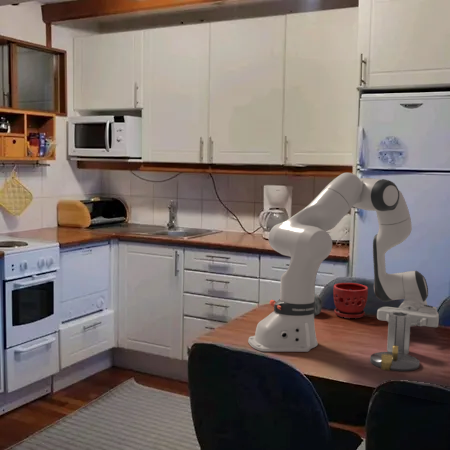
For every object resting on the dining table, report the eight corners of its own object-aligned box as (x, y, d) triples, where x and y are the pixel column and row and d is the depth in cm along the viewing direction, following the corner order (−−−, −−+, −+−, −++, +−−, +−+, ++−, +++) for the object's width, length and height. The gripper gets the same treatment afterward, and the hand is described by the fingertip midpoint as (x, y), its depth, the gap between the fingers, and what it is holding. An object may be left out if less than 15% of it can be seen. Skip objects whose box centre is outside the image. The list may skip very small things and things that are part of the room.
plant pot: (325, 313, 234) (326, 283, 233) (352, 310, 240) (354, 281, 239) (345, 321, 222) (347, 290, 221) (373, 318, 228) (375, 288, 227)
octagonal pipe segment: (388, 353, 185) (390, 316, 184) (386, 347, 191) (388, 311, 190) (409, 355, 184) (411, 317, 183) (407, 349, 190) (409, 312, 189)
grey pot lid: (385, 372, 168) (386, 354, 167) (361, 357, 181) (362, 340, 181) (429, 369, 171) (430, 352, 171) (402, 354, 185) (403, 338, 184)
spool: (330, 308, 229) (317, 285, 230) (309, 320, 227) (297, 297, 228) (319, 308, 242) (307, 286, 243) (299, 320, 240) (288, 298, 241)
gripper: (381, 300, 214) (373, 308, 201) (441, 307, 205) (436, 316, 192) (380, 317, 214) (372, 326, 202) (440, 325, 205) (435, 335, 193)
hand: (404, 321), depth 197 cm, fingers open, 8 cm apart
